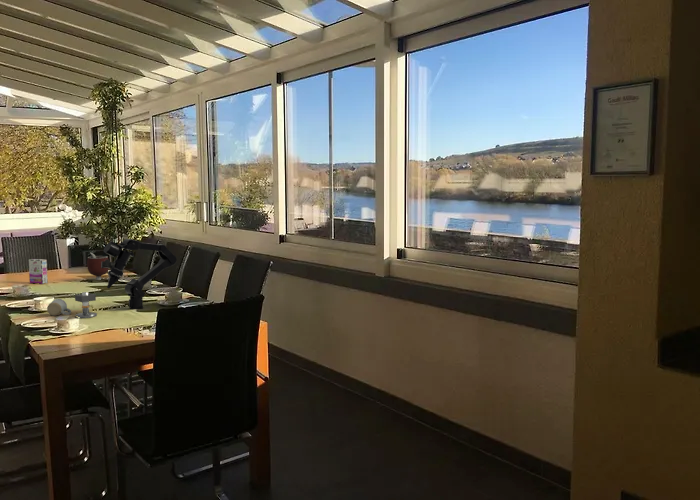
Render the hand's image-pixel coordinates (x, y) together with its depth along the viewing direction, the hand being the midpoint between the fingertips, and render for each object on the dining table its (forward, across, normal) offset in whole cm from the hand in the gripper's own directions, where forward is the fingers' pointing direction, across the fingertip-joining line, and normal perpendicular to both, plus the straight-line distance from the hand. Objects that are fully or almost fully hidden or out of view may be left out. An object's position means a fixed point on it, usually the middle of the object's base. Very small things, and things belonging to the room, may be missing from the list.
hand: (108, 288), depth 311 cm
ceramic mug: (+21, -7, -15) cm, 27 cm away
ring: (+10, +5, -7) cm, 14 cm away
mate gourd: (-11, -116, -2) cm, 117 cm away
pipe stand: (+17, +4, -4) cm, 18 cm away
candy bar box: (+5, -123, -35) cm, 128 cm away
